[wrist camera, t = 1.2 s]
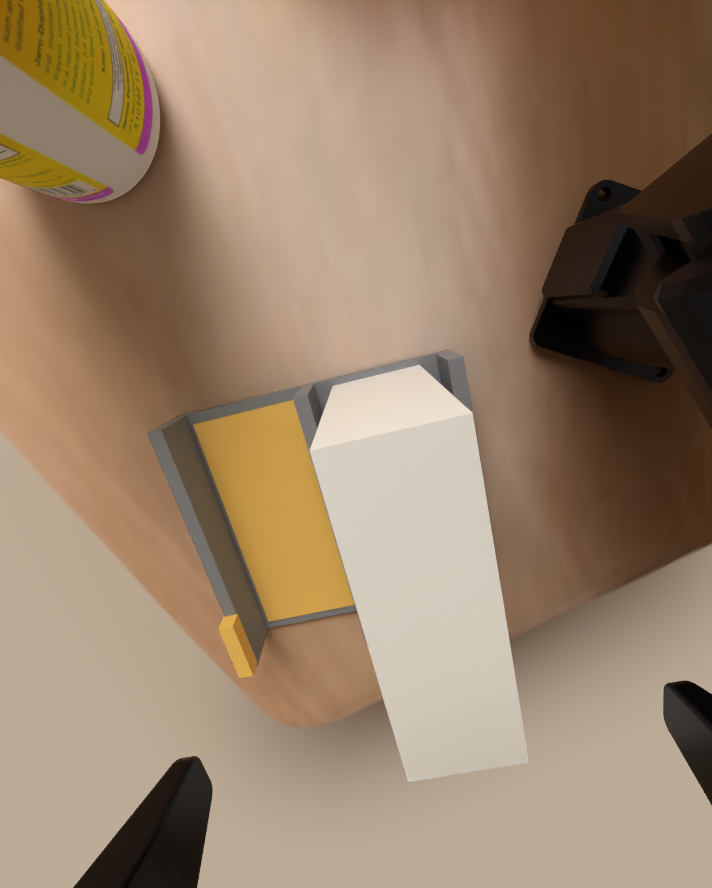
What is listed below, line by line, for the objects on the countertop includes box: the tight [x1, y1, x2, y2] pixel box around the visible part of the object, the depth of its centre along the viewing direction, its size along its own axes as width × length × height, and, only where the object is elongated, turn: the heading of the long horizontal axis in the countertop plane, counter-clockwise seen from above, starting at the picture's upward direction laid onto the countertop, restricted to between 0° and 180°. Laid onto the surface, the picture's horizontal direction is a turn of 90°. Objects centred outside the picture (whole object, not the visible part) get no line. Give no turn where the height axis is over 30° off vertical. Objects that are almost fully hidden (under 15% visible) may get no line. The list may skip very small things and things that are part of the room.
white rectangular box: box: [310, 365, 529, 782], centre depth 16 cm, size 4×12×9 cm, turn 14°
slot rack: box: [148, 350, 472, 678], centre depth 19 cm, size 13×13×4 cm
